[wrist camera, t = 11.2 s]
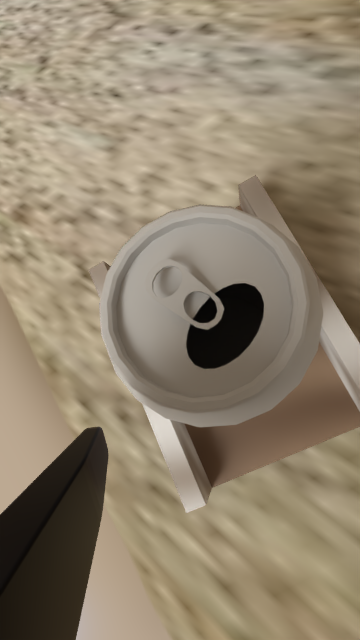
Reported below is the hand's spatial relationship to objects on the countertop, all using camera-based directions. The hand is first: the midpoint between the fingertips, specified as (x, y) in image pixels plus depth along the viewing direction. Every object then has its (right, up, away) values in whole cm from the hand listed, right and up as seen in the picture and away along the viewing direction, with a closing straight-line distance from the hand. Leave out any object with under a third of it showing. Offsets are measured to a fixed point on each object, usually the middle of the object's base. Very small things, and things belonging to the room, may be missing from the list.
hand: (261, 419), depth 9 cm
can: (+1, +1, +12) cm, 12 cm away
